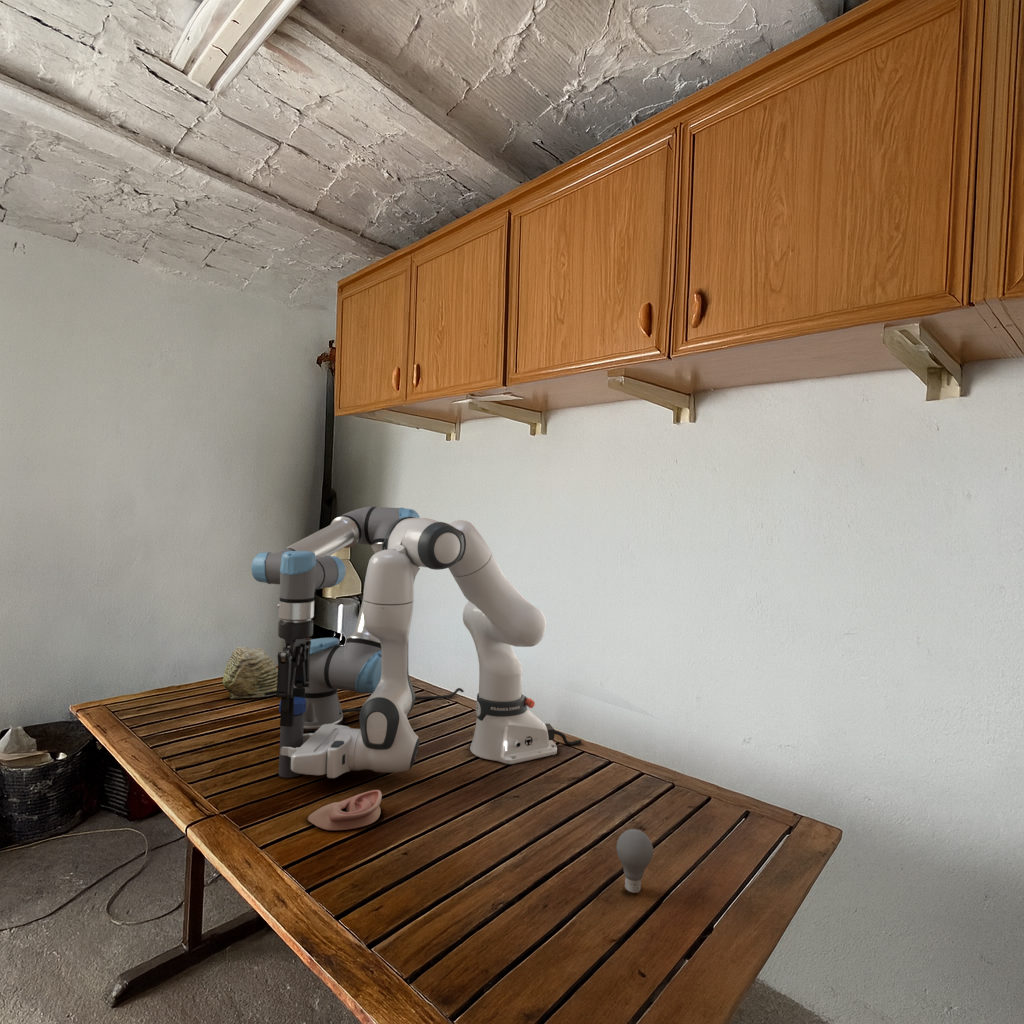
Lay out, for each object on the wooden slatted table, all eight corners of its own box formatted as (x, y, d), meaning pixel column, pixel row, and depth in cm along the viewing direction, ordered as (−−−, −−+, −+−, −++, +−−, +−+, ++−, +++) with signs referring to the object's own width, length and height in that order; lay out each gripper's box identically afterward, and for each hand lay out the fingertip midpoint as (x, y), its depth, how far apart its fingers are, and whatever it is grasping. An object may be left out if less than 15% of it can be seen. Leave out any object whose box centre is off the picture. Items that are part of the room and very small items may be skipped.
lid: (308, 706, 147) (308, 696, 147) (304, 715, 142) (304, 704, 142) (281, 707, 146) (282, 696, 146) (276, 715, 141) (277, 704, 141)
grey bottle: (303, 775, 143) (306, 705, 143) (280, 779, 141) (283, 708, 141) (299, 767, 148) (301, 698, 147) (276, 770, 145) (279, 701, 145)
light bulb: (610, 879, 108) (613, 822, 108) (644, 879, 109) (647, 822, 109) (619, 902, 102) (622, 840, 102) (655, 901, 103) (658, 840, 103)
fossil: (218, 695, 195) (220, 647, 195) (278, 685, 208) (279, 640, 207) (228, 703, 189) (230, 653, 188) (289, 692, 201) (290, 645, 201)
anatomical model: (300, 805, 121) (329, 780, 132) (299, 826, 121) (328, 798, 133) (364, 815, 119) (388, 788, 130) (363, 836, 119) (387, 807, 130)
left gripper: (296, 611, 153) (292, 706, 154) (261, 626, 135) (257, 734, 135) (326, 613, 153) (322, 708, 153) (296, 628, 134) (292, 737, 135)
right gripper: (361, 719, 154) (305, 715, 155) (332, 752, 133) (268, 748, 134) (360, 744, 154) (304, 741, 155) (331, 782, 133) (267, 777, 134)
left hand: (292, 720), depth 144 cm, fingers closed on lid, 6 cm apart
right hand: (287, 744), depth 144 cm, fingers closed on grey bottle, 5 cm apart
